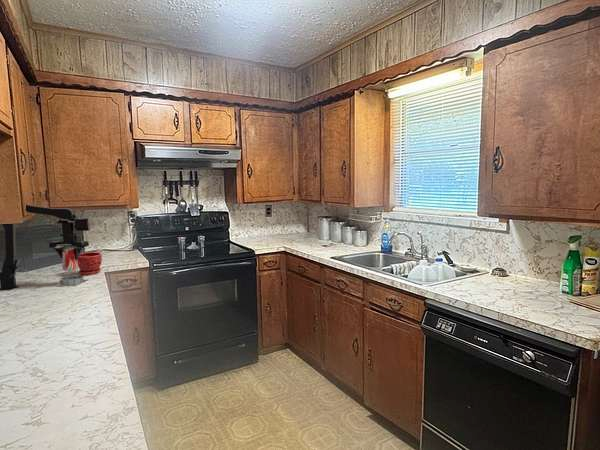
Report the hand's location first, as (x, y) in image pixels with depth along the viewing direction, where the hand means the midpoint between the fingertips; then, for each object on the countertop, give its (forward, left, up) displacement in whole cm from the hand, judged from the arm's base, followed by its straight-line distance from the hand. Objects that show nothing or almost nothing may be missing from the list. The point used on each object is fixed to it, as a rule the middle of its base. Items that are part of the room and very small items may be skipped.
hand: (70, 259), depth 199 cm
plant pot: (+21, +2, -13) cm, 25 cm away
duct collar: (0, 0, -13) cm, 13 cm away
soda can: (0, 0, -6) cm, 6 cm away
